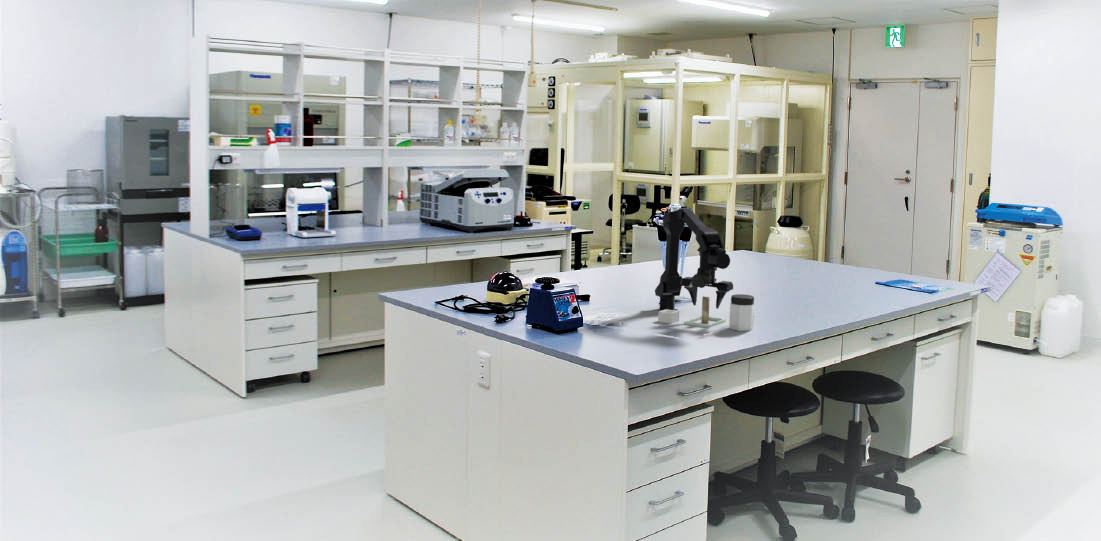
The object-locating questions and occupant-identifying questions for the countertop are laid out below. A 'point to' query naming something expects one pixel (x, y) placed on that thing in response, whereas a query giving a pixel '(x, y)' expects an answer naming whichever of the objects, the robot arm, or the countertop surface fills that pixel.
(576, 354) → the countertop surface
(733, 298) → the jar
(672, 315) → the white square tube
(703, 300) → the dowel
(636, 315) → the countertop surface
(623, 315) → the countertop surface
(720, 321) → the tray
